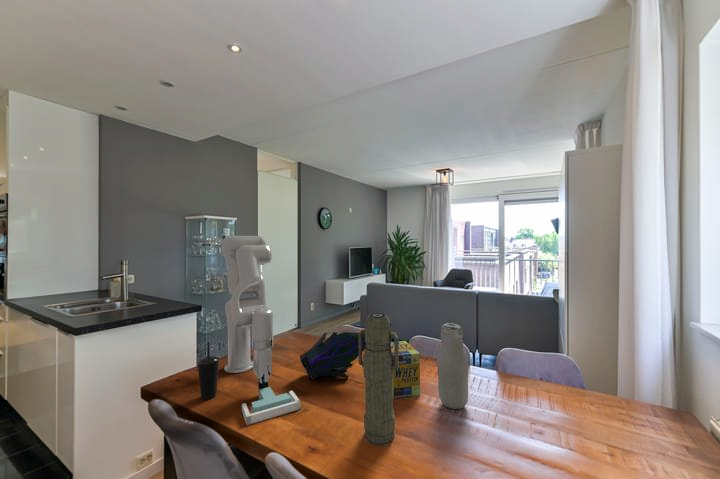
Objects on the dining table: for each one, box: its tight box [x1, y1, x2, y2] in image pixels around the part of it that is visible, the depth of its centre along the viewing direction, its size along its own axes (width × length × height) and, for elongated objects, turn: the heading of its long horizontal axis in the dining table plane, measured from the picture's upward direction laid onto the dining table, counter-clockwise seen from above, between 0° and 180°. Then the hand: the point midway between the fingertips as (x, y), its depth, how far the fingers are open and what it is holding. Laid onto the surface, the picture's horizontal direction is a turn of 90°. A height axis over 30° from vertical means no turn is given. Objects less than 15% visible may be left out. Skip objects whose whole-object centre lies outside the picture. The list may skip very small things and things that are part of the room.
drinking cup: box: [196, 341, 221, 401], centre depth 112 cm, size 8×8×20 cm
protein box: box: [391, 340, 421, 400], centre depth 117 cm, size 10×15×16 cm
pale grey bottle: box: [436, 322, 469, 410], centre depth 103 cm, size 10×10×28 cm
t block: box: [251, 386, 291, 414], centre depth 106 cm, size 12×12×4 cm
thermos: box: [358, 312, 400, 447], centre depth 88 cm, size 9×12×35 cm
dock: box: [241, 390, 302, 426], centre depth 103 cm, size 9×17×2 cm, turn 120°
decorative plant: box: [299, 331, 366, 380], centre depth 129 cm, size 21×26×30 cm
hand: (263, 392), depth 113 cm, fingers closed
